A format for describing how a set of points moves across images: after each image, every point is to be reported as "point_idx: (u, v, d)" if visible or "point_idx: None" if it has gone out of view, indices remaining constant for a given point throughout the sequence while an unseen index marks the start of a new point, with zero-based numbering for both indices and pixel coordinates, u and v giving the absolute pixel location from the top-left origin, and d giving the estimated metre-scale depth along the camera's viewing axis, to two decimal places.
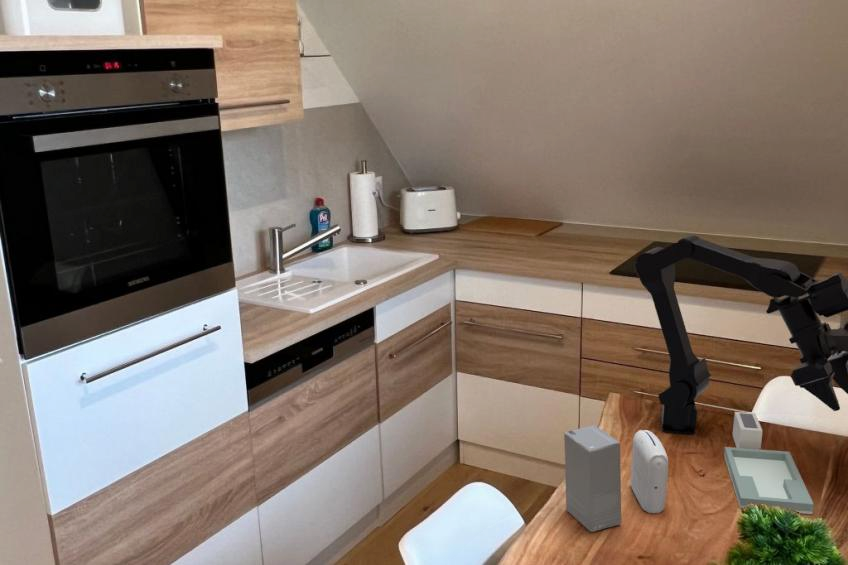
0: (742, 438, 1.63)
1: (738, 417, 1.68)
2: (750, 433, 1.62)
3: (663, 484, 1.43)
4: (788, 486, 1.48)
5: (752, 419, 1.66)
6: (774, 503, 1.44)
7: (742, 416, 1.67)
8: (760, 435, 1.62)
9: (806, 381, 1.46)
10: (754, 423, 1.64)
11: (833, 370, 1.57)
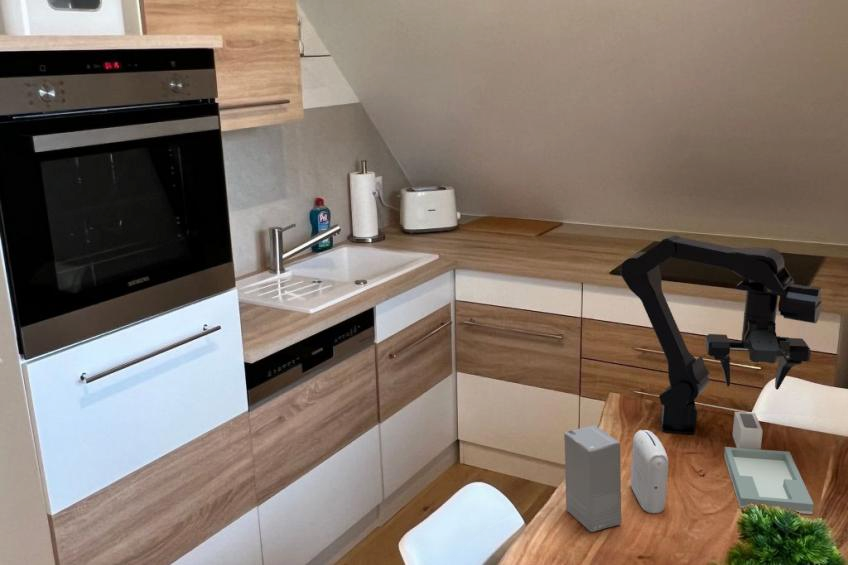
0: (742, 438, 1.63)
1: (738, 417, 1.68)
2: (750, 433, 1.62)
3: (663, 484, 1.43)
4: (788, 486, 1.48)
5: (752, 419, 1.66)
6: (774, 503, 1.44)
7: (742, 416, 1.67)
8: (760, 435, 1.62)
9: (706, 347, 1.64)
10: (754, 423, 1.64)
11: (779, 363, 1.62)
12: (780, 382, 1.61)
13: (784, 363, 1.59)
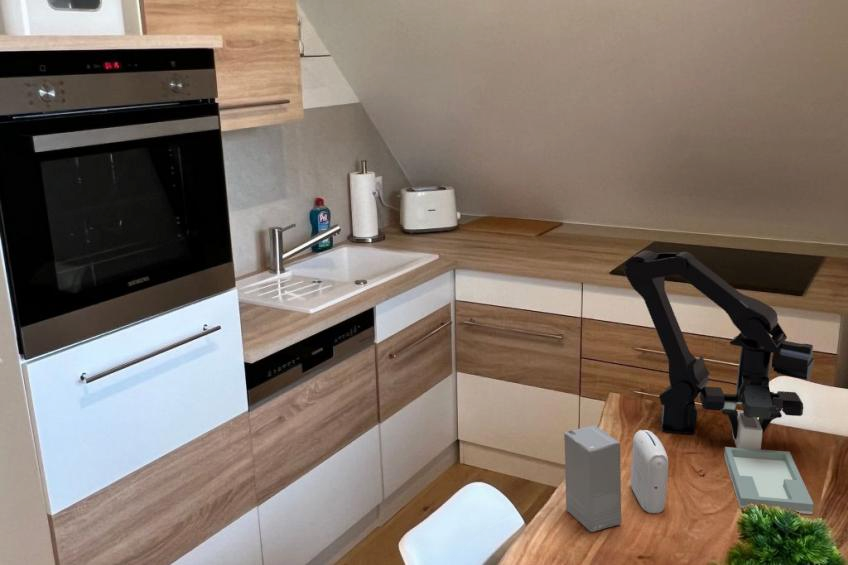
0: (742, 438, 1.63)
1: (738, 416, 1.67)
2: (750, 432, 1.62)
3: (663, 484, 1.43)
4: (788, 486, 1.48)
5: (752, 419, 1.66)
6: (774, 503, 1.44)
7: (742, 415, 1.67)
8: (760, 434, 1.62)
9: (701, 400, 1.67)
10: (754, 422, 1.64)
11: None
12: None
13: None
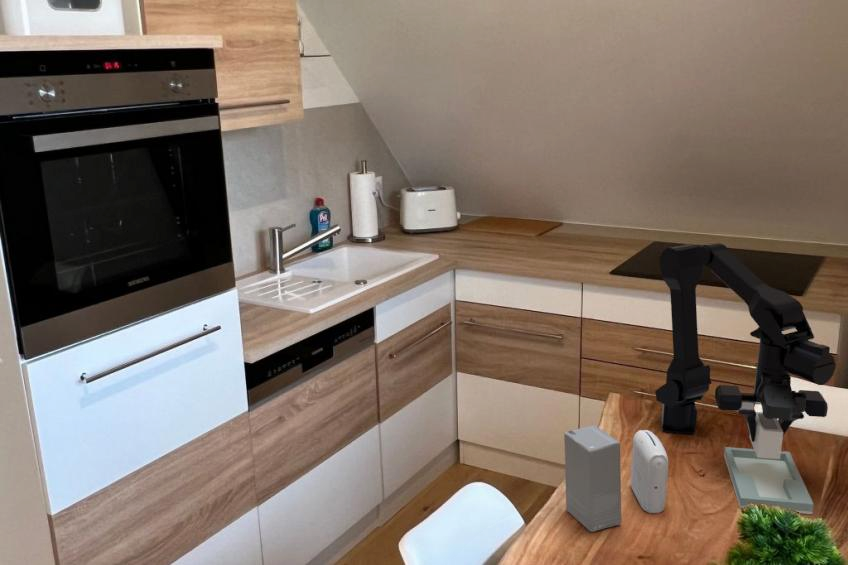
0: (761, 440, 1.51)
1: (756, 417, 1.55)
2: (770, 434, 1.50)
3: (663, 484, 1.43)
4: (788, 486, 1.48)
5: (771, 420, 1.53)
6: (774, 503, 1.44)
7: (760, 416, 1.55)
8: (780, 437, 1.50)
9: (716, 399, 1.55)
10: (774, 424, 1.52)
11: None
12: None
13: None
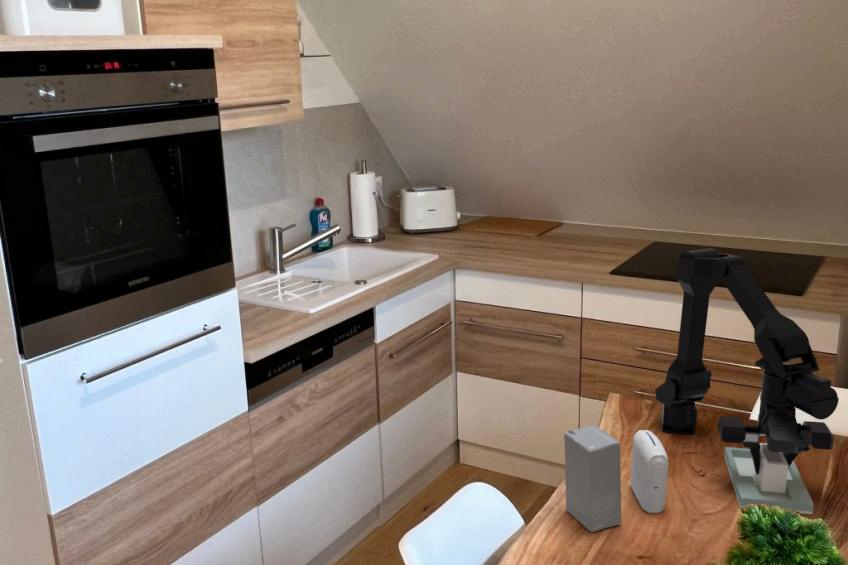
0: (765, 473, 1.47)
1: (760, 449, 1.51)
2: (775, 468, 1.46)
3: (663, 484, 1.43)
4: (788, 486, 1.48)
5: None
6: (774, 503, 1.44)
7: (765, 448, 1.51)
8: (786, 470, 1.46)
9: (719, 431, 1.51)
10: (778, 456, 1.48)
11: None
12: None
13: None
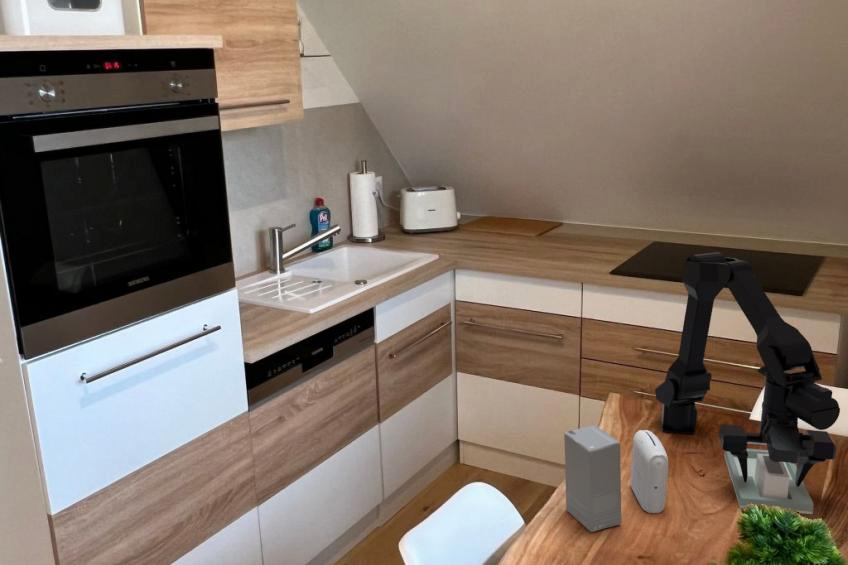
0: (766, 485, 1.45)
1: (761, 460, 1.49)
2: (776, 479, 1.44)
3: (663, 484, 1.43)
4: None
5: (777, 463, 1.48)
6: (774, 503, 1.44)
7: (766, 459, 1.49)
8: (787, 482, 1.44)
9: (720, 439, 1.49)
10: (780, 468, 1.46)
11: (800, 458, 1.47)
12: (801, 479, 1.47)
13: (806, 460, 1.44)
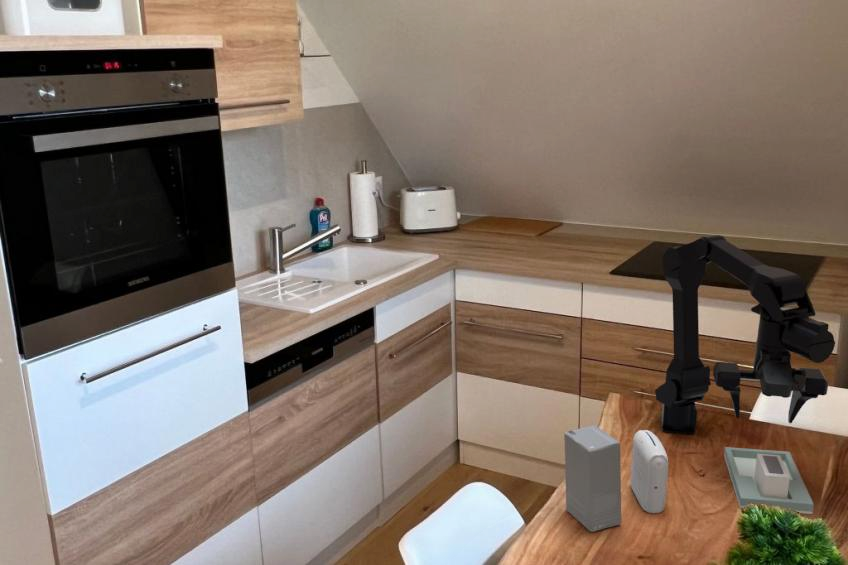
0: (766, 485, 1.45)
1: (761, 460, 1.49)
2: (776, 479, 1.44)
3: (663, 484, 1.43)
4: None
5: (777, 463, 1.48)
6: (774, 503, 1.44)
7: (766, 459, 1.49)
8: (787, 482, 1.44)
9: (714, 376, 1.52)
10: (780, 468, 1.46)
11: (793, 395, 1.50)
12: (794, 416, 1.50)
13: (799, 396, 1.47)
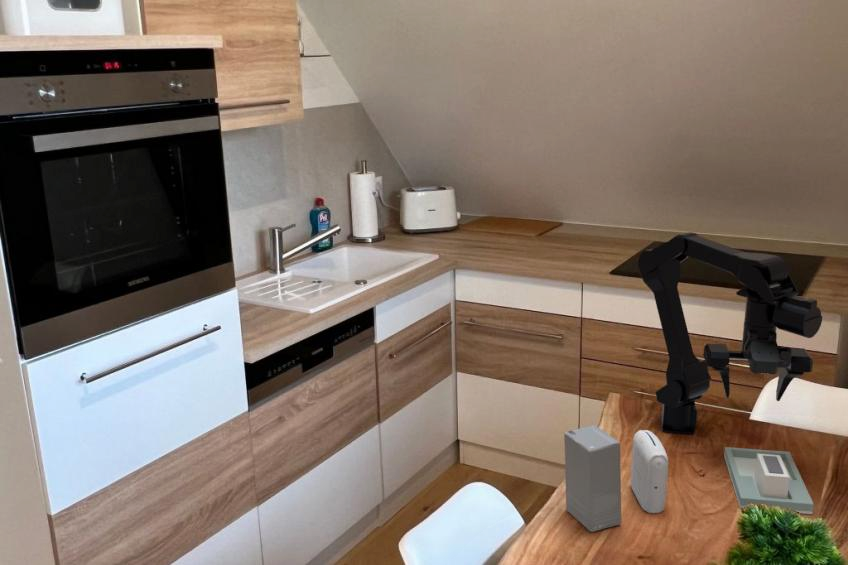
0: (766, 485, 1.45)
1: (761, 460, 1.49)
2: (776, 479, 1.44)
3: (663, 484, 1.43)
4: None
5: (777, 463, 1.48)
6: (774, 503, 1.44)
7: (766, 459, 1.49)
8: (787, 482, 1.44)
9: (704, 358, 1.58)
10: (780, 468, 1.46)
11: (781, 374, 1.57)
12: (781, 393, 1.56)
13: (785, 374, 1.54)
